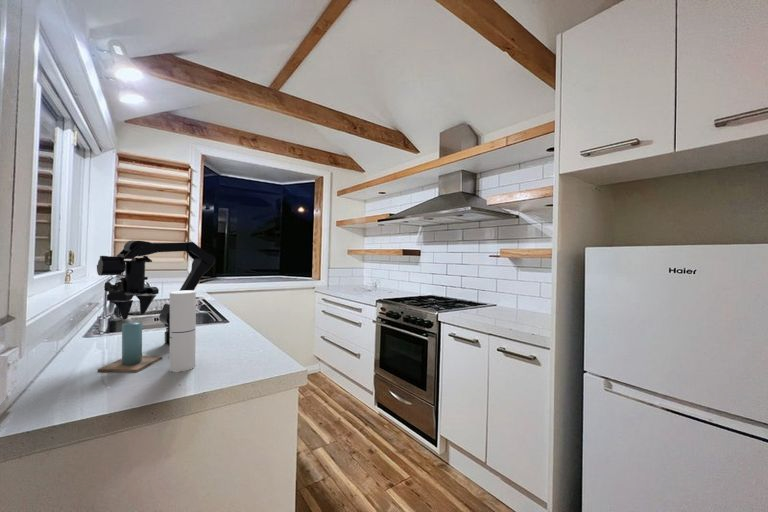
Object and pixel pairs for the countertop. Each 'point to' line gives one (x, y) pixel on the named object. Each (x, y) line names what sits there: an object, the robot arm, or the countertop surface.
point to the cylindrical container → (182, 330)
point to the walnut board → (137, 367)
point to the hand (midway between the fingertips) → (134, 316)
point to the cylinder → (131, 343)
